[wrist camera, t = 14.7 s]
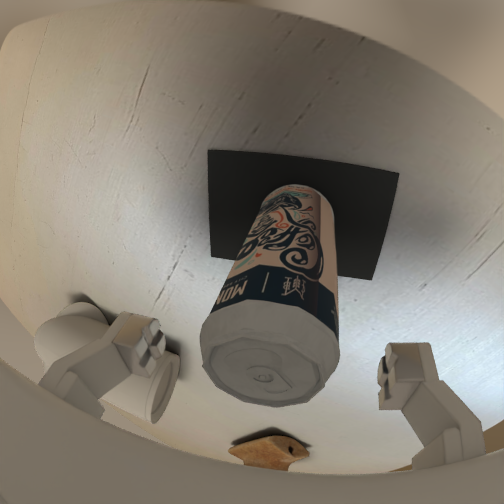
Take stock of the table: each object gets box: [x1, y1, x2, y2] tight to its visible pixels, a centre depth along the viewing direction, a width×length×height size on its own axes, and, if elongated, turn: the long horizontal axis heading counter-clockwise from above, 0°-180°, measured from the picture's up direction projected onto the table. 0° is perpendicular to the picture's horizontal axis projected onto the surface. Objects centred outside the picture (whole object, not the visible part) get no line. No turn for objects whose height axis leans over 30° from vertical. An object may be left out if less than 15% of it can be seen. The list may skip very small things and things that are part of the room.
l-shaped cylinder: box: [34, 302, 180, 424], centre depth 29 cm, size 18×11×20 cm
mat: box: [208, 150, 399, 280], centre depth 18 cm, size 12×8×1 cm, turn 88°
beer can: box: [200, 184, 340, 408], centre depth 13 cm, size 5×5×12 cm
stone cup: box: [228, 436, 309, 471], centre depth 34 cm, size 15×12×15 cm
